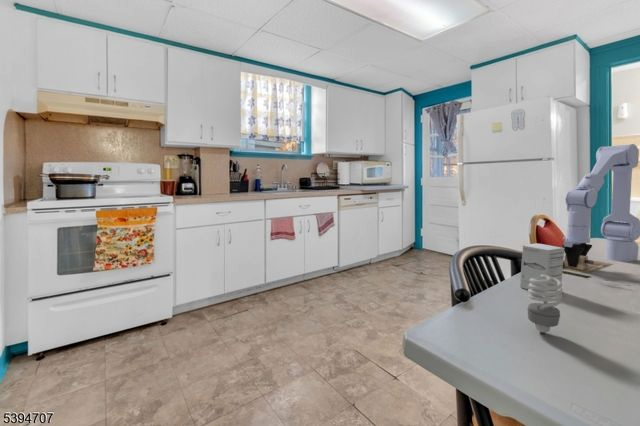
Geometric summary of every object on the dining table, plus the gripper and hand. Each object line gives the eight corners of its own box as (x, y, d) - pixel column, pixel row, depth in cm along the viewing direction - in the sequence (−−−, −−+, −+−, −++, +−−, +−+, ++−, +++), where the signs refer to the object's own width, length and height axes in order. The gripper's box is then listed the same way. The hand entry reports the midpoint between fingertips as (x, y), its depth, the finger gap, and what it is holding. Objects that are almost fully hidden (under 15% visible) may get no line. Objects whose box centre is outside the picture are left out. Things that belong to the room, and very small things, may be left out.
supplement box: (518, 287, 93) (521, 244, 91) (534, 284, 96) (537, 242, 94) (545, 295, 86) (549, 249, 85) (562, 291, 89) (565, 247, 88)
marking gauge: (569, 265, 111) (570, 253, 111) (594, 269, 105) (595, 257, 105) (564, 266, 109) (565, 255, 109) (589, 271, 103) (590, 259, 103)
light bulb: (527, 324, 69) (530, 269, 68) (559, 331, 65) (564, 274, 64) (523, 333, 65) (527, 276, 63) (558, 342, 61) (562, 281, 60)
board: (582, 262, 120) (582, 254, 120) (613, 268, 113) (613, 259, 112) (554, 271, 109) (555, 262, 108) (586, 278, 101) (587, 269, 101)
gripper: (573, 222, 114) (571, 260, 115) (554, 226, 106) (551, 266, 107) (598, 225, 108) (595, 264, 109) (580, 228, 100) (577, 270, 101)
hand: (575, 265), depth 108 cm, fingers closed on marking gauge, 4 cm apart
